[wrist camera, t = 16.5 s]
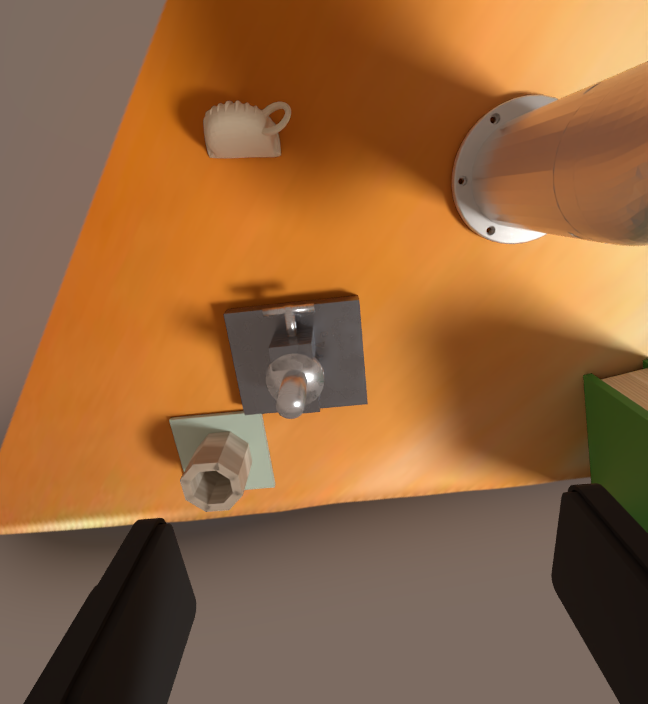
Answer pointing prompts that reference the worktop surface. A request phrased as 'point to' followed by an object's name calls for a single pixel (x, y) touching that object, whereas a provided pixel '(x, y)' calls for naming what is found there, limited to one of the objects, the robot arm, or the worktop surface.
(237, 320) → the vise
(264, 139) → the decorative ornament
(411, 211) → the worktop surface
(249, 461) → the hollow octagonal tube
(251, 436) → the mat
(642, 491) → the green banded box
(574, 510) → the robot arm
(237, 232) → the worktop surface
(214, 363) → the worktop surface
